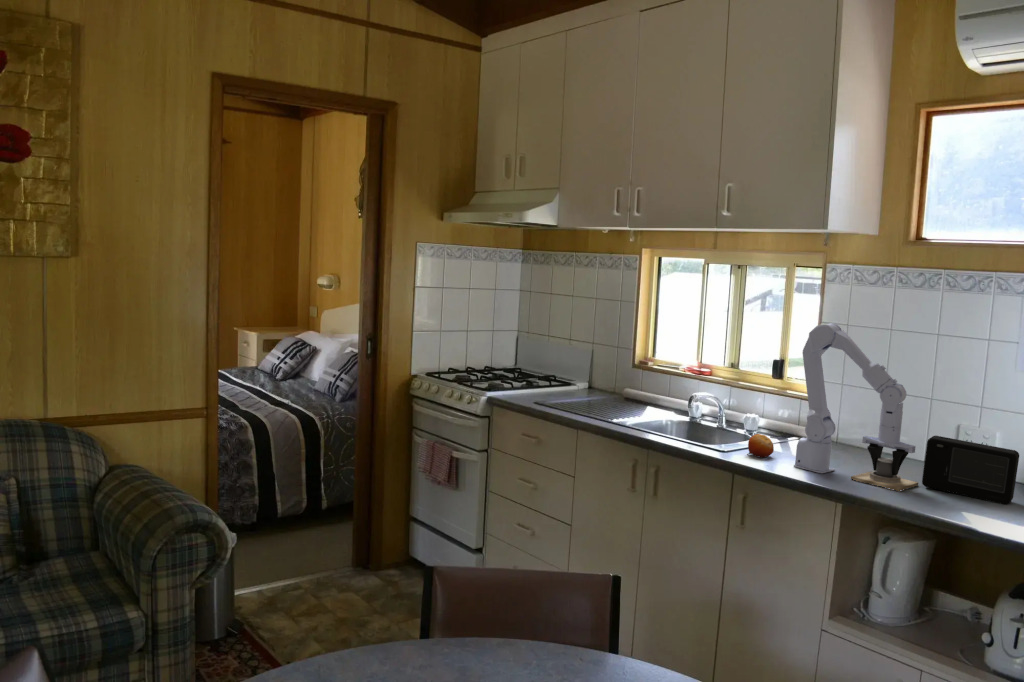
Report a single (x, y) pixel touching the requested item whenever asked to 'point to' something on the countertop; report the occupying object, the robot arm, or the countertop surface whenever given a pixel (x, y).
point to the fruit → (760, 446)
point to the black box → (970, 469)
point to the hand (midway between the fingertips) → (885, 472)
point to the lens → (884, 467)
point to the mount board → (885, 481)
